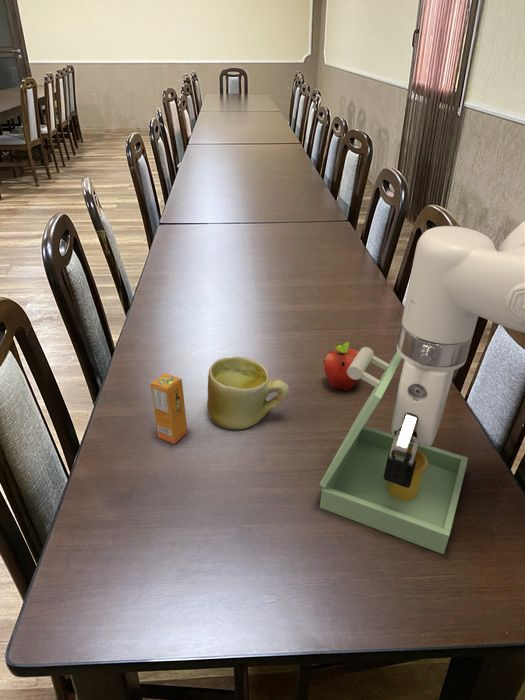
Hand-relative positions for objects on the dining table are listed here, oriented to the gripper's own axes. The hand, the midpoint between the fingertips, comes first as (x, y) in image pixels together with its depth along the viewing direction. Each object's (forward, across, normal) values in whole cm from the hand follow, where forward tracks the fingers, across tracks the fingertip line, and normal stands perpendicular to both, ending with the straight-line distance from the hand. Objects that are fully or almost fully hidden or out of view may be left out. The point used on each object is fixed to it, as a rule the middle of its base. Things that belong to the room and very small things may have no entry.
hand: (406, 457), depth 68 cm
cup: (+6, 0, 0) cm, 6 cm away
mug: (+7, +5, +25) cm, 27 cm away
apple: (+7, +20, +15) cm, 25 cm away
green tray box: (+6, 0, 0) cm, 6 cm away
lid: (-5, 0, +6) cm, 8 cm away
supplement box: (+7, -4, +33) cm, 34 cm away
